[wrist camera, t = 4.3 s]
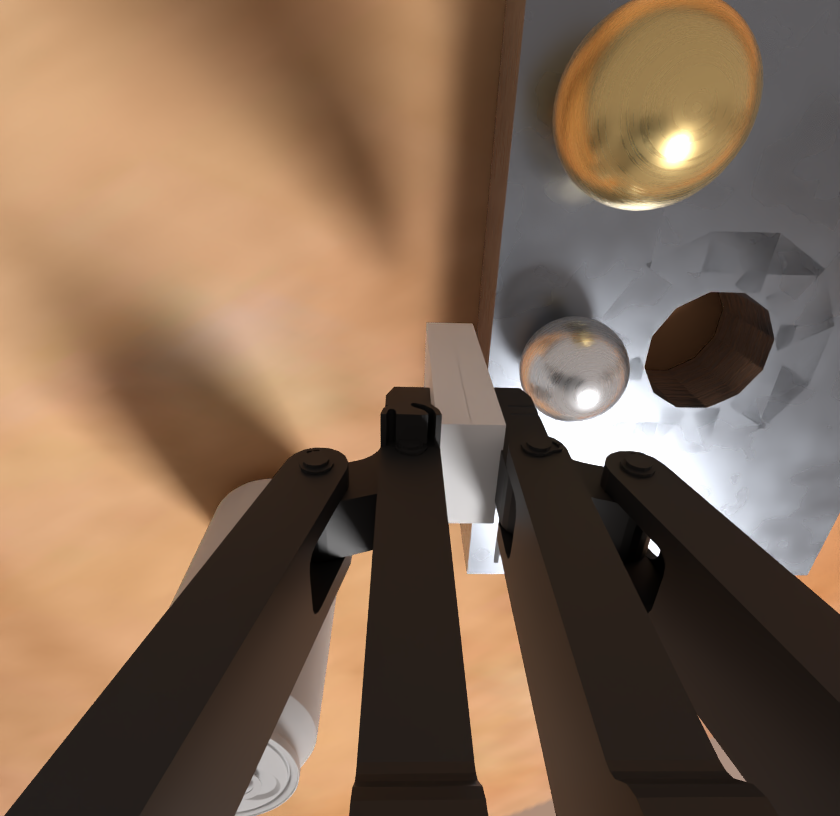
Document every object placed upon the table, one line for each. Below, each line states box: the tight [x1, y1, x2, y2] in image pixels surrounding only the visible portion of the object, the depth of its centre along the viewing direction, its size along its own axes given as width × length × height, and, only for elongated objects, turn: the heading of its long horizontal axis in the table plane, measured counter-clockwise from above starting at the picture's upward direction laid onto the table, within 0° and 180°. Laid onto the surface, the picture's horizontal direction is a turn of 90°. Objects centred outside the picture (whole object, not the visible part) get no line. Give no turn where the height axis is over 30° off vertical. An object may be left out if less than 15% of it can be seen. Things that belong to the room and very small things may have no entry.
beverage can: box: [170, 479, 336, 816], centre depth 22 cm, size 6×6×12 cm
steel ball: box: [519, 316, 630, 423], centre depth 17 cm, size 4×4×4 cm
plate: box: [460, 0, 840, 575], centre depth 21 cm, size 16×22×4 cm
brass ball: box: [552, 0, 763, 211], centre depth 13 cm, size 5×5×5 cm
